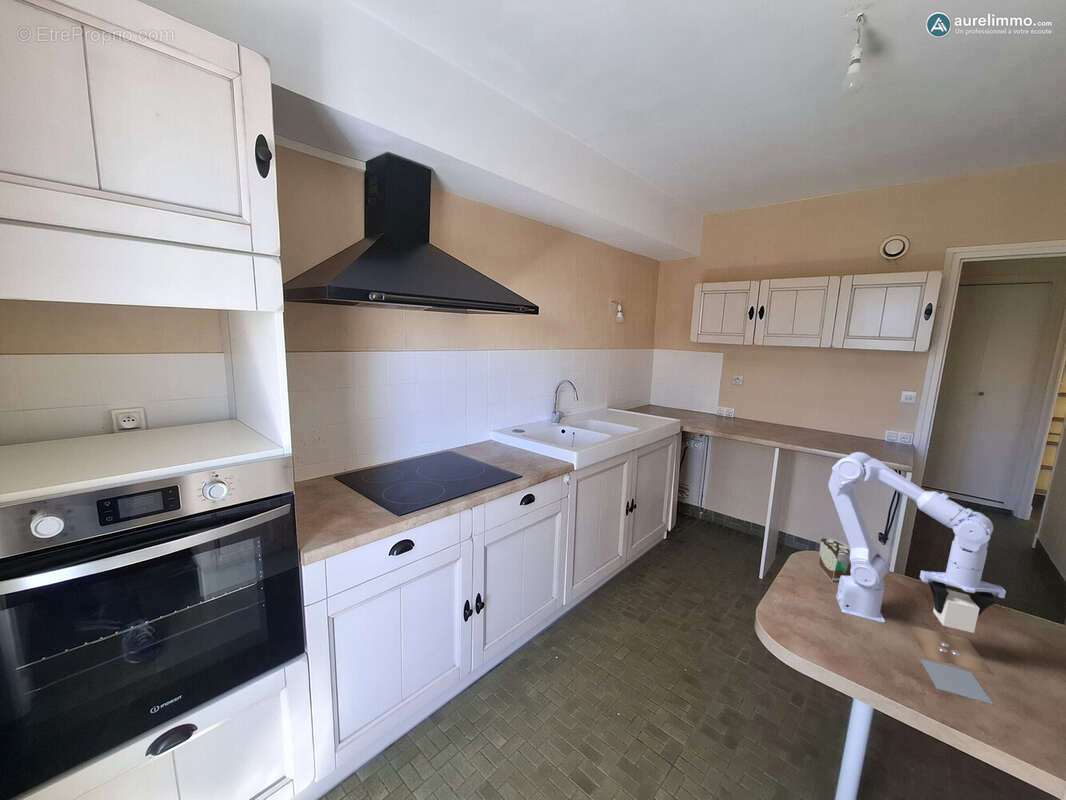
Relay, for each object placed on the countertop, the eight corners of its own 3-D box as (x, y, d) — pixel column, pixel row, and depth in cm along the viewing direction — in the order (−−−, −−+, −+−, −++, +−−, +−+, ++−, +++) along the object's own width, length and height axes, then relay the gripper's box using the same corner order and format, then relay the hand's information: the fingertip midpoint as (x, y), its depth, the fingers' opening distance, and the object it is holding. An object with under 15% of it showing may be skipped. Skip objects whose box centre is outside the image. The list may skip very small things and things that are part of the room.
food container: (857, 588, 126) (862, 557, 124) (834, 585, 127) (839, 555, 125) (836, 565, 138) (841, 537, 136) (816, 562, 139) (820, 535, 137)
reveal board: (925, 657, 100) (925, 656, 100) (906, 625, 110) (906, 624, 110) (993, 675, 95) (994, 674, 95) (967, 639, 105) (967, 638, 105)
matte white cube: (943, 625, 100) (948, 601, 99) (933, 611, 105) (937, 588, 103) (973, 632, 98) (979, 608, 96) (962, 618, 102) (967, 594, 101)
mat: (936, 689, 91) (937, 688, 91) (920, 659, 99) (920, 658, 99) (992, 705, 87) (993, 704, 87) (970, 673, 95) (971, 672, 95)
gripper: (933, 564, 98) (922, 615, 100) (1018, 581, 92) (1005, 635, 94) (920, 550, 104) (911, 598, 106) (1000, 564, 98) (988, 615, 100)
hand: (954, 614), depth 101 cm, fingers closed on matte white cube, 5 cm apart
